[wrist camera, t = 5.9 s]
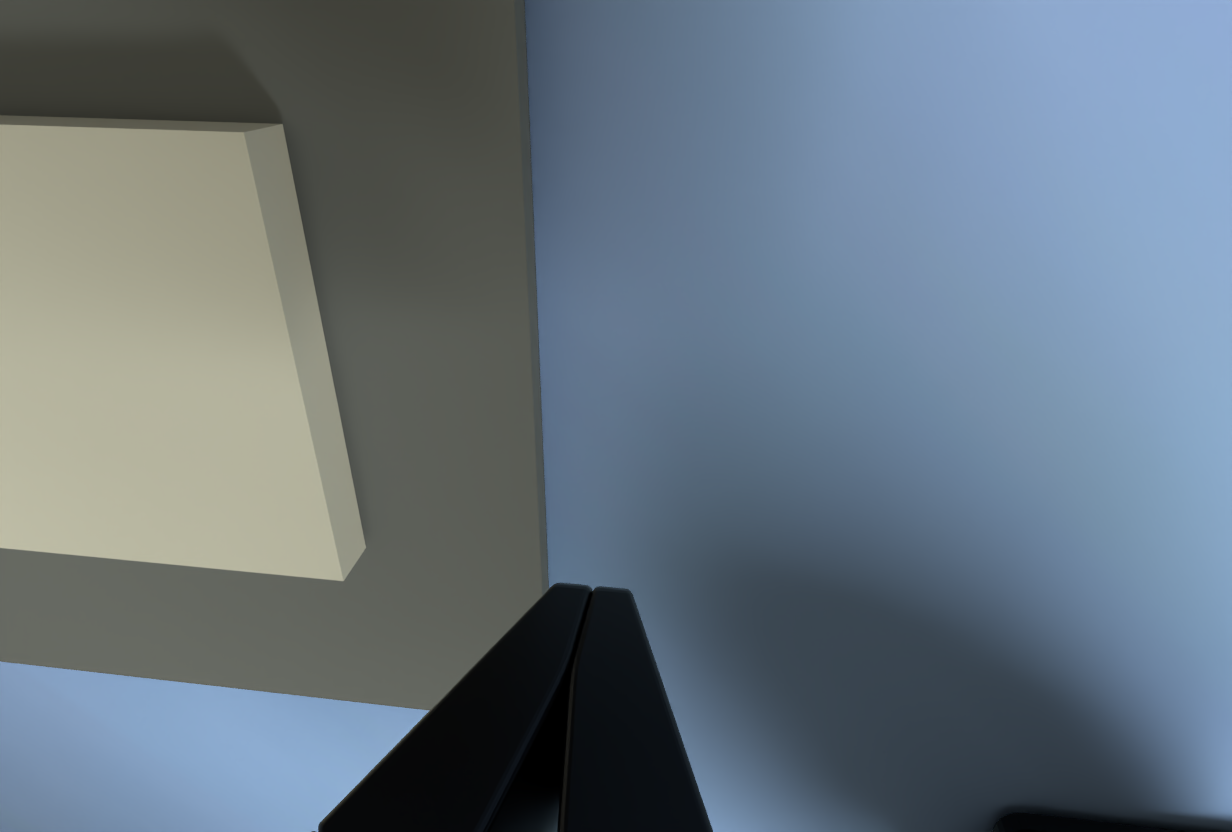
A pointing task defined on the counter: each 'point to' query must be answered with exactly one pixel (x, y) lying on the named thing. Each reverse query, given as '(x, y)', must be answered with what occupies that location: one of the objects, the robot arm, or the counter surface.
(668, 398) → the counter surface
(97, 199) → the tile
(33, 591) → the mat
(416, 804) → the robot arm
